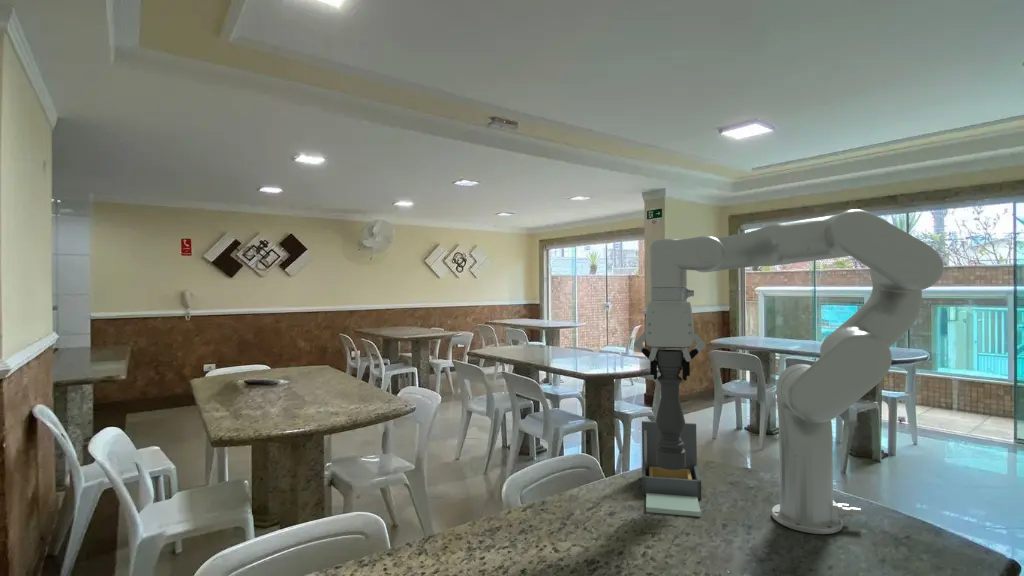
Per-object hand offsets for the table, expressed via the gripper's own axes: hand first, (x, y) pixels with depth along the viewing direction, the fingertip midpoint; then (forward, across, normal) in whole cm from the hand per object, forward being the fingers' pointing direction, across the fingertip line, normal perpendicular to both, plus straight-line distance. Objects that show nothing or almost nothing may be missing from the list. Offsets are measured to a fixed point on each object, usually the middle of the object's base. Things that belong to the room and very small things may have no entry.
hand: (669, 378), depth 116 cm
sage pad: (+28, 0, 0) cm, 28 cm away
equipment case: (+28, 0, -12) cm, 30 cm away
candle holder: (+19, 0, 0) cm, 19 cm away
